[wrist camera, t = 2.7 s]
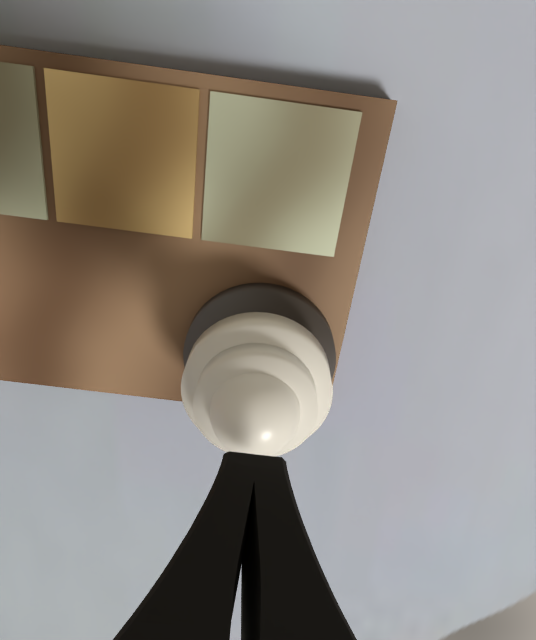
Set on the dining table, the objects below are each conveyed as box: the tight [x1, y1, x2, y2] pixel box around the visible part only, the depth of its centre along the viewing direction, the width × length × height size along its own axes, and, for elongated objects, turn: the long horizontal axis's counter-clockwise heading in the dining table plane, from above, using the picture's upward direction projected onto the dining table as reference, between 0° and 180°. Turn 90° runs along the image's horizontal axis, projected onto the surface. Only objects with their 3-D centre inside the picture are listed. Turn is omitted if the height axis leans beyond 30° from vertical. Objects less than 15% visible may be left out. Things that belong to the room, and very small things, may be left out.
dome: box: [181, 312, 333, 457], centre depth 13 cm, size 5×5×3 cm
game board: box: [0, 45, 397, 401], centre depth 15 cm, size 20×11×2 cm, turn 83°
